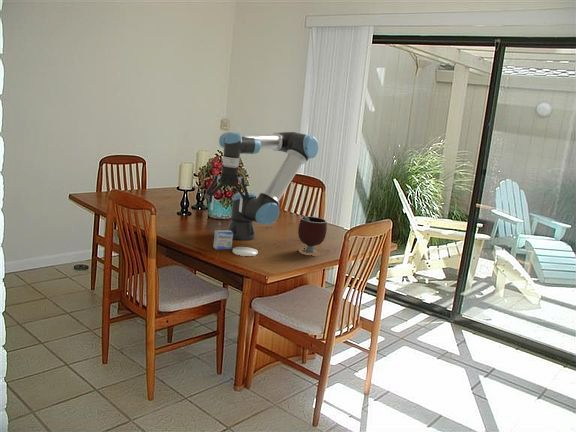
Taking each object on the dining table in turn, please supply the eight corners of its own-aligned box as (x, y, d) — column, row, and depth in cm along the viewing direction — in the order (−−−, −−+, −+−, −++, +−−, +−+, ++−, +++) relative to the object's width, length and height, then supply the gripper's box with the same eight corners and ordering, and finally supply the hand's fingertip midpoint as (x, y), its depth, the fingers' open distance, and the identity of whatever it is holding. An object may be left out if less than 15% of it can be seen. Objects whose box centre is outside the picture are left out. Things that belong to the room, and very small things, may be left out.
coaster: (254, 249, 272) (255, 247, 271) (259, 257, 260) (260, 254, 260) (230, 248, 268) (230, 246, 268) (234, 256, 257) (234, 253, 257)
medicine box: (216, 249, 263) (217, 232, 262) (212, 247, 267) (214, 229, 266) (231, 249, 267) (233, 232, 265) (228, 246, 271) (230, 229, 269)
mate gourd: (309, 247, 288) (314, 209, 284) (328, 255, 278) (334, 216, 274) (287, 250, 278) (292, 211, 273) (307, 258, 268) (312, 218, 264)
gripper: (204, 164, 252) (200, 210, 256) (258, 169, 259) (253, 214, 263) (202, 162, 259) (198, 207, 264) (255, 167, 266) (250, 210, 270)
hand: (225, 210), depth 263 cm, fingers open, 13 cm apart
